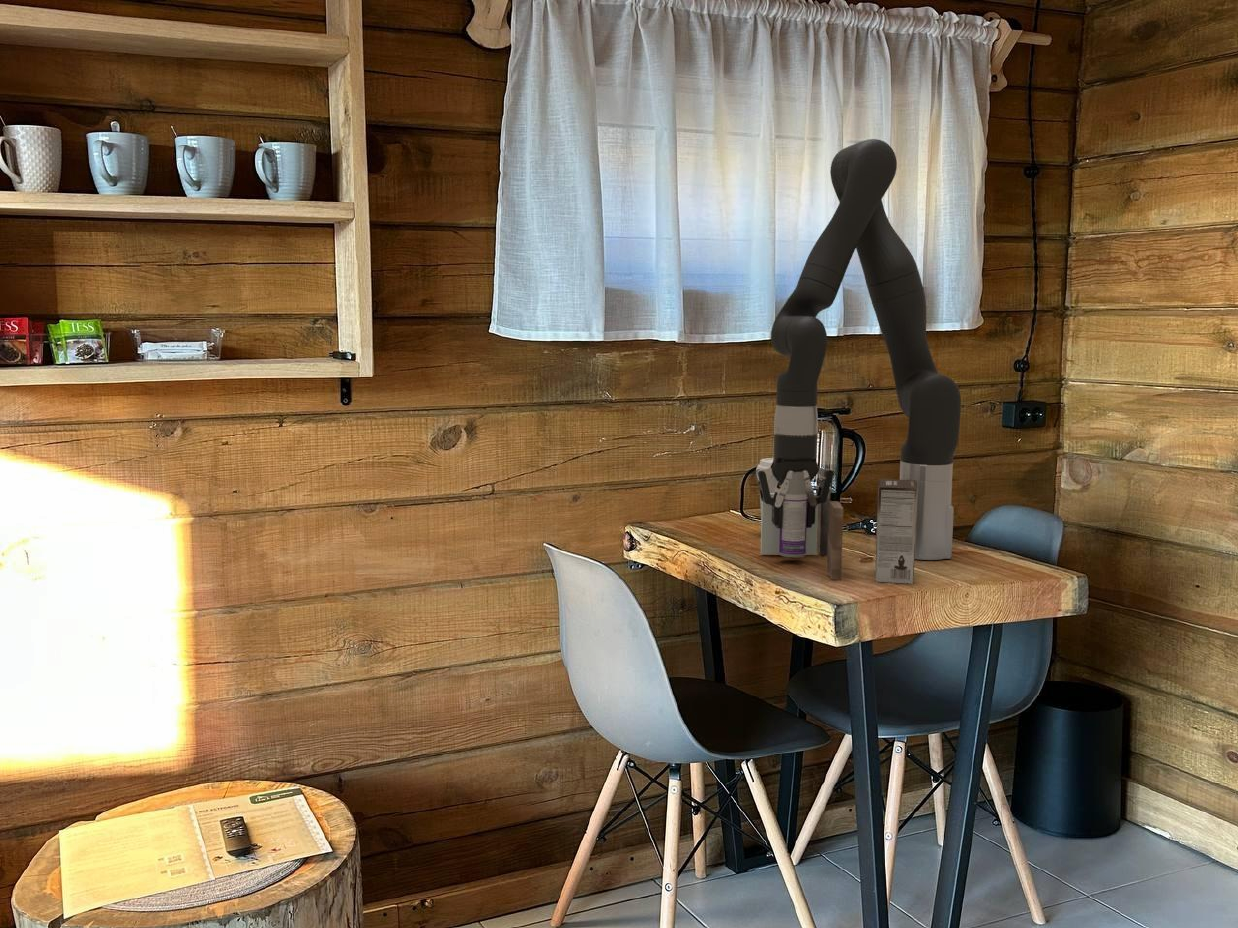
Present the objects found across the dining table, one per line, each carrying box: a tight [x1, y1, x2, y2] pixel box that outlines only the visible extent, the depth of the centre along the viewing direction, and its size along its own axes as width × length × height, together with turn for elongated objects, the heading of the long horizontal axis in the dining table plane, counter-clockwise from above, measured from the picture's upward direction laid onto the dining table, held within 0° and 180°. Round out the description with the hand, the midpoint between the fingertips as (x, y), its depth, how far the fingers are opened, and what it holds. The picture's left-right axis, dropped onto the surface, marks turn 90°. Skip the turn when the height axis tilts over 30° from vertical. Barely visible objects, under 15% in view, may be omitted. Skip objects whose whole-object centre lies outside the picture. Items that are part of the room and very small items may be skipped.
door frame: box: [817, 488, 844, 581], centre depth 209 cm, size 2×24×12 cm, turn 176°
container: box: [778, 471, 807, 558], centre depth 210 cm, size 5×5×15 cm
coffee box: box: [874, 478, 918, 585], centre depth 200 cm, size 9×6×16 cm
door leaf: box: [760, 492, 818, 556], centre depth 216 cm, size 10×1×11 cm, turn 92°
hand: (792, 526), depth 210 cm, fingers open, 4 cm apart
